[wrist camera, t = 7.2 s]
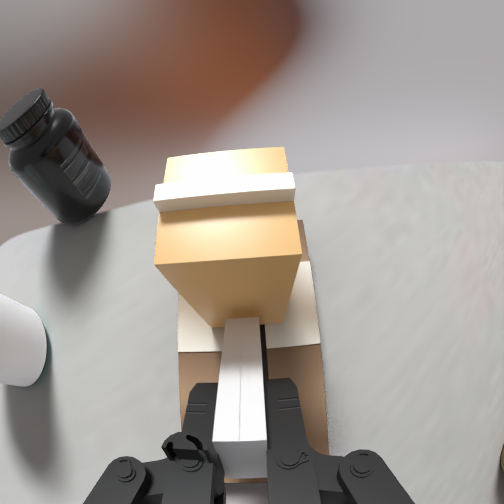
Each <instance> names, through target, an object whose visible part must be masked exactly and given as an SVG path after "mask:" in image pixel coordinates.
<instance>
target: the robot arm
mask: <svg viewBox="0 0 504 504" xmlns="http://www.w3.org/2000/svg"><path fill="white" fill-rule="evenodd" d="M187 403H188V405H187V407H186V413H185V417H184V422H183V427H182V432H178V433H175V434H173V435H171V436H169V437H168V438H167V439H166V440H165V441H164V443H163V445H162V449H163V451H164V452H165V454H166V456H167V458H165V459H162V460H158V461H152V462H145V463H141V462H140V461H139V460H137V459H136V458H133V457H128V456H125V457H119V458H117V459H115V460H113V461H112V462H111V463H110V464H109V465H108V467H107V468H106V470H105V471H104V473H103V474H102V476H101V477H100V479H99V480H98V482H97V483H96V485H95V486H94V488H93V489H92V491H91V492H90V494H89V496H88V497H87V499H86V500H85V502H84V503H83V504H226V490H225V486H224V476H225V477H226V479H240V478H266V477H267V480H268V499H269V504H415V503H414V502H413V501H412V499H411V498H410V496H409V495H408V494H407V492H406V491H405V490H404V488H403V487H402V486H401V484H400V483H399V481H398V480H397V479H396V477H395V476H394V474H393V473H392V472H391V470H390V469H389V468H388V466H387V465H386V463H385V462H384V461H383V459H382V458H381V457H380V456H379V455H378V454H377V453H375V452H373V451H370V450H357V451H353V452H351V453H349V454H348V455H346V456H345V457H342V456H330V455H325V454H321V453H319V452H317V451H315V450H314V449H313V448H311V446H310V445H309V443H308V441H307V438H306V432H305V427H304V421H303V416H302V411H301V405H300V400H299V395H298V389H297V386H296V385H295V383H294V382H293V381H292V380H291V379H290V377H288V378H278V379H265V380H263V367H262V353H261V339H260V326H259V317H249V318H233V319H226V321H225V330H224V338H223V347H222V355H221V364H220V373H219V382H218V383H196V384H195V386H194V387H193V388H192V390H191V391H190V393H189V397H188V402H187Z"/></svg>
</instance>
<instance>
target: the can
mask: <svg viewBox="0 0 504 504" xmlns="http://www.w3.org/2000/svg"><path fill="white" fill-rule="evenodd" d="M46 350H47V343H46V334H45V330H44V326H43V324H42V321H41V319H40V318H39V316H38V315H37V313H36V312H35V311H33V310H32V309H30V308H28V307H26V306H24V305H22V304H20V303H18V302H16V301H14V300H12V299H10V298H8V297H6V296H4V295H3V294H1V293H0V383H3V384H8V385H15V386H22V387H26V386H29V385H31V384H33V383H34V382H35V381H36V380H37V379H38V377H39V376H40V374H41V372H42V370H43V367H44V364H45V359H46Z"/></svg>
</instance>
